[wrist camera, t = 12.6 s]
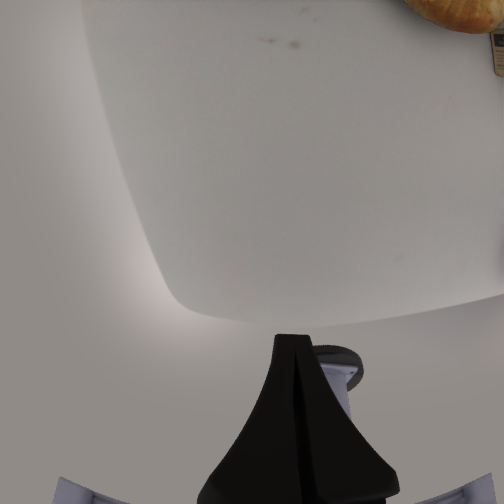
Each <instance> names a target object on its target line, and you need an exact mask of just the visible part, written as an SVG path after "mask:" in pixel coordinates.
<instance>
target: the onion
mask: <svg viewBox="0 0 504 504" xmlns="http://www.w3.org/2000/svg"><path fill="white" fill-rule="evenodd" d="M404 1H405V2H406V3H407V4H408V5H409V6H410V7H411V8H412V9H413V10H414V11H416V12H417V13H418V14H419V15H421V16H422V17H423V18H425V19H427V20H429V21H431V22H433V23H435V24H437V25H439V26H441V27H444V28H446V29H449V30H452V31H458V32H464V33H470V34H483V33H488V32H491V31H494V30H495V29H496V28H498V26H499V24H500V23H501V22H502V21H503V19H504V0H404Z"/></svg>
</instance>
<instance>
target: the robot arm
mask: <svg viewBox="0 0 504 504" xmlns="http://www.w3.org/2000/svg"><path fill="white" fill-rule="evenodd" d="M357 370H358V367H357V366H353V365H341V364H330V363H320V362H319V361H318V358H317V356H316V353H315V351H314V348H313V345H312V342H311V339H310V336H309V335H297V334H277V335H275V338H274V346H273V353H272V359H271V365H270V368H269V371H268V374H267V377H266V380H265V383H264V385H263V388H262V390H261V393H260V395H259V398H258V400H257V402H256V404H255V406H254V409H253V410H252V412H251V414H250V416H249V418H248V420H247V422H246V424H245V426H244V427H243V429H242V431H241V432H240V434H239V436H238V437H237V439H236V440H235V442H234V444H233V445H232V447H231V448H230V449H229V451H228V453H227V454H226V455H225V457H224V458H223V459H222V461H221V462H220V463H219V465H218V466H217V467H216V469H215V470H214V471H213V472H212V474H211V475H210V476H209V478H208V480H207V481H206V483H205V485H204V486H203V488H202V490H201V491H200V493H199V495H198V499H197V504H386V498H388V497H391V496H393V495H396V494H398V493H399V491H400V487H399V481H398V478H397V475H396V472H395V470H394V469H393V468H392V467H390V465H388V464H387V463H386V462H385V461H384V460H383V459H382V458H381V457H380V456H379V455H378V453H377V452H376V451H375V450H374V449H373V448H372V447H371V446H370V444H369V443H368V442H367V441H366V440H365V438H364V437H363V436H362V435H361V433H360V432H359V431H358V430H357V428H356V427H355V425H354V424H353V423H352V421H351V414H350V407H349V399H348V393H347V386H346V384H347V382H348V381H349V380H350V379H351V378H352V376H353V375H354V374H355V373H356V372H357ZM52 504H129V503H126V502H122V501H119V500H116V499H113V498H110V497H107V496H105V495H102V494H99V493H97V492H94V491H92V490H90V489H88V488H86V487H83V486H81V485H78V484H76V483H74V482H71V481H69V480H67V479H65V478H63V477H59V479H58V483H57V487H56V491H55V494H54V499H53V503H52ZM415 504H496V497H495V491H494V485H493V480H492V474H491V473H489V474H487V475H485V476H482V477H481V478H478V479H476V480H474V481H472V482H470V483H468V484H466V485H464V486H462V487H459V488H457V489H455V490H452V491H450V492H447V493H445V494H442V495H439V496H437V497H434V498H431V499H428V500H425V501H422V502H419V503H415Z"/></svg>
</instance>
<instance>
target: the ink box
mask: <svg viewBox="0 0 504 504" xmlns="http://www.w3.org/2000/svg"><path fill="white" fill-rule="evenodd" d="M490 34H491V40H492V47H493V55H494V64H495V73H496V74H497V75H499V76H501V77H504V29H495V30H494V31H491V32H490Z"/></svg>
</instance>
